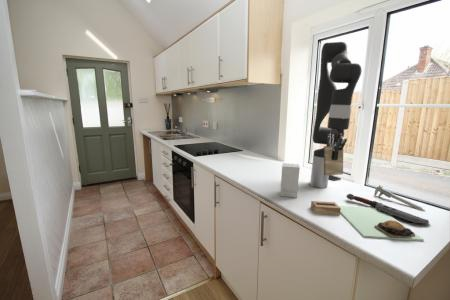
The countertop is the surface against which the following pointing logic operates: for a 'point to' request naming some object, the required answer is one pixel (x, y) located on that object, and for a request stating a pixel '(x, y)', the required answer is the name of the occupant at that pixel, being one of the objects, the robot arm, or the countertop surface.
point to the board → (332, 162)
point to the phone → (333, 178)
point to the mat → (370, 221)
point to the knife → (389, 210)
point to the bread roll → (394, 229)
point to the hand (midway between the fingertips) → (333, 159)
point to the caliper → (395, 197)
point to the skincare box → (289, 180)
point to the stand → (325, 207)
